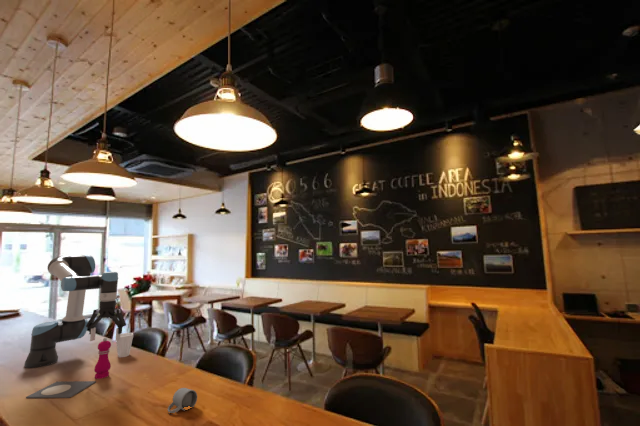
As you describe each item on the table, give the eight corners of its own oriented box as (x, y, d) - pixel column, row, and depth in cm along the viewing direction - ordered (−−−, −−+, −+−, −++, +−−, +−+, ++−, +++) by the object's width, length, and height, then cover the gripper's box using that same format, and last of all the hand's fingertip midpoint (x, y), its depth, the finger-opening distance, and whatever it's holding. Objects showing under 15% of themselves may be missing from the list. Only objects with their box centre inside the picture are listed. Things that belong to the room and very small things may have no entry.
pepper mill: (113, 374, 169) (116, 336, 171) (100, 380, 162) (103, 340, 165) (103, 373, 171) (106, 335, 174) (90, 378, 165) (93, 339, 167)
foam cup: (135, 353, 204) (136, 333, 206) (125, 358, 195) (126, 336, 197) (121, 353, 205) (123, 332, 207) (111, 357, 196) (112, 336, 198)
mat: (25, 398, 142) (26, 396, 142) (56, 382, 159) (56, 381, 159) (70, 397, 142) (70, 396, 143) (95, 382, 159) (96, 380, 159)
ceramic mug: (186, 401, 139) (187, 383, 140) (197, 406, 135) (197, 387, 135) (163, 411, 131) (164, 392, 131) (174, 417, 126) (174, 397, 127)
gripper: (80, 301, 168) (76, 342, 165) (126, 301, 168) (124, 341, 165) (90, 299, 175) (86, 338, 172) (134, 299, 176) (132, 338, 173)
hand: (105, 340), depth 169 cm, fingers open, 13 cm apart
